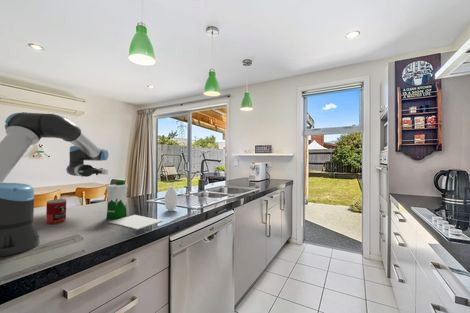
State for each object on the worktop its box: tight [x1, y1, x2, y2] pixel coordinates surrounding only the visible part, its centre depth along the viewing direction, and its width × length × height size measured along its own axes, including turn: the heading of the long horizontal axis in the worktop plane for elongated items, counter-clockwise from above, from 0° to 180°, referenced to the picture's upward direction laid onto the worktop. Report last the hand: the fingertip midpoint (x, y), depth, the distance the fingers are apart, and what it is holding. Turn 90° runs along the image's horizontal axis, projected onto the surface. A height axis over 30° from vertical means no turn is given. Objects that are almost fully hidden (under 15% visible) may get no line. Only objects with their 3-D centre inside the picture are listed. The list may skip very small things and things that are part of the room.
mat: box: [108, 214, 164, 231], centre depth 109 cm, size 22×15×1 cm
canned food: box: [45, 198, 67, 225], centre depth 107 cm, size 8×8×11 cm
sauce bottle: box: [163, 182, 178, 212], centre depth 133 cm, size 8×8×18 cm
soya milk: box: [105, 180, 129, 220], centre depth 117 cm, size 9×9×20 cm
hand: (106, 172), depth 122 cm, fingers closed
